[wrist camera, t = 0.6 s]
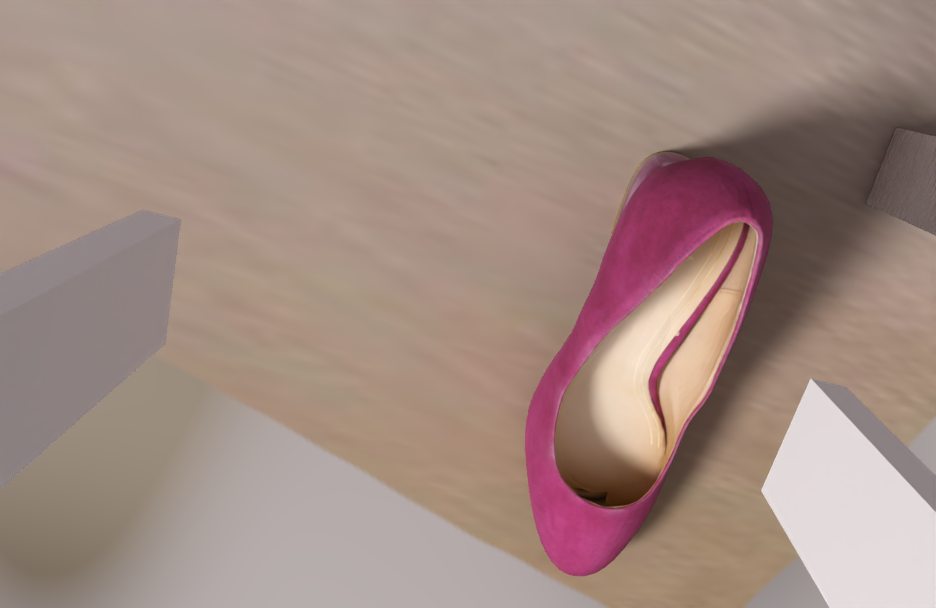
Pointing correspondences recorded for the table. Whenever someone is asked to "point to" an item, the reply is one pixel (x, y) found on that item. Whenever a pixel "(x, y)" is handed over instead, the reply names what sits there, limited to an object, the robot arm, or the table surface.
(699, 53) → the table surface
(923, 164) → the grey rectangular block
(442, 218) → the table surface
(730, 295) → the high heel
